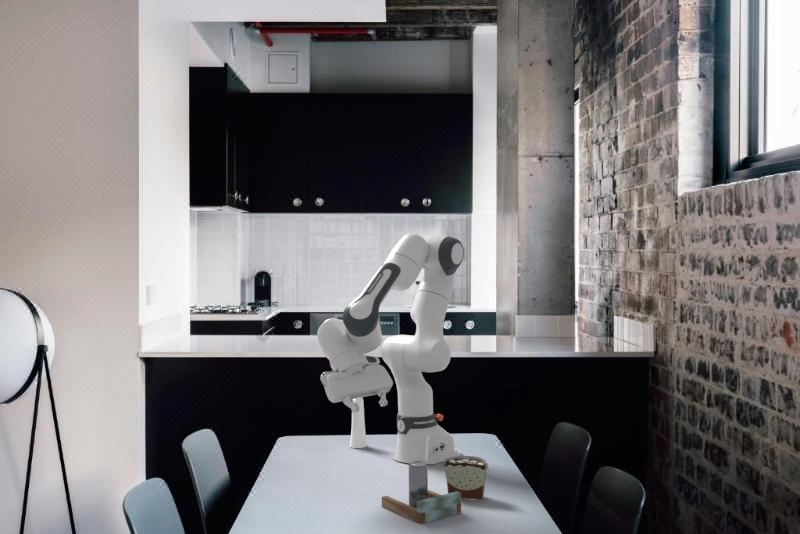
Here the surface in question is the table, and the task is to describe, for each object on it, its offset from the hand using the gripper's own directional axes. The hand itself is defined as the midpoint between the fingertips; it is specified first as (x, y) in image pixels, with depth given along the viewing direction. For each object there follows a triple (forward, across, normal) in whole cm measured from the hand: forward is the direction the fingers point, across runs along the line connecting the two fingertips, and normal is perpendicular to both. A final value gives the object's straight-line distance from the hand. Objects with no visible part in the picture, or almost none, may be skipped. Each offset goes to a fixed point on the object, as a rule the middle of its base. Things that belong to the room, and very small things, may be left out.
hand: (370, 407), depth 203 cm
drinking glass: (+29, 0, +3) cm, 30 cm away
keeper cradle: (+30, 0, +2) cm, 30 cm away
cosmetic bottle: (-13, +24, +48) cm, 55 cm away
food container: (+30, +17, +4) cm, 35 cm away
